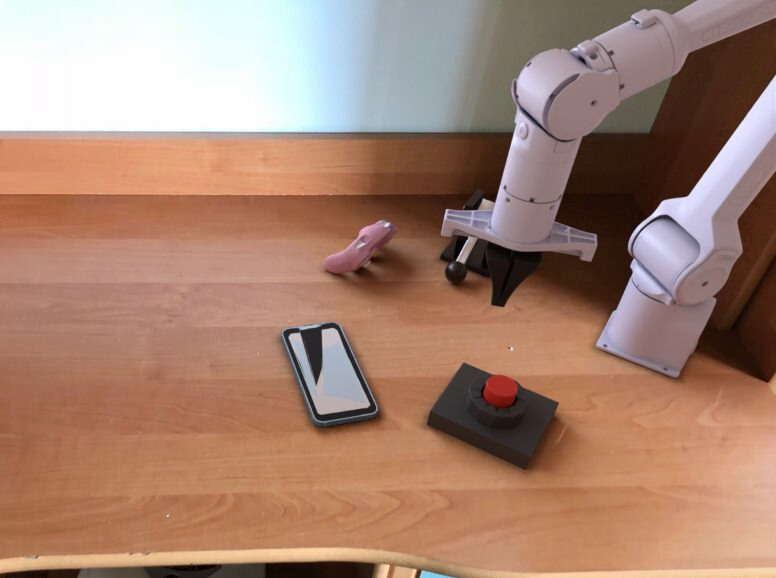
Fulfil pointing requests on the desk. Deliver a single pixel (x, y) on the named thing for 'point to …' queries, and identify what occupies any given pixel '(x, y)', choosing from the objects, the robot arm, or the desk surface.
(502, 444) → the button box
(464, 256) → the press lever
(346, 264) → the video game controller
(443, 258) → the bracket
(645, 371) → the desk surface
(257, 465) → the desk surface
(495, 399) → the button
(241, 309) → the desk surface
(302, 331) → the smartphone
